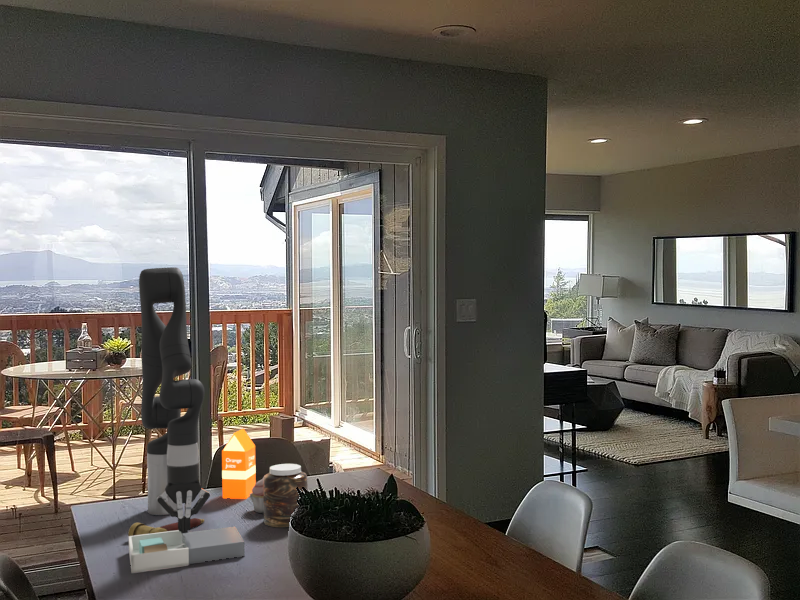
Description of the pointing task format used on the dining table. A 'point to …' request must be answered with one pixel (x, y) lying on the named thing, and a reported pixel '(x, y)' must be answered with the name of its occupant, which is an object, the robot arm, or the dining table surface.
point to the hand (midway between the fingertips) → (184, 532)
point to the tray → (158, 552)
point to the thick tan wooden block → (155, 548)
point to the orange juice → (238, 466)
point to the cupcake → (258, 496)
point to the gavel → (143, 529)
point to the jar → (282, 493)
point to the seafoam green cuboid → (149, 543)
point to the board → (213, 544)
